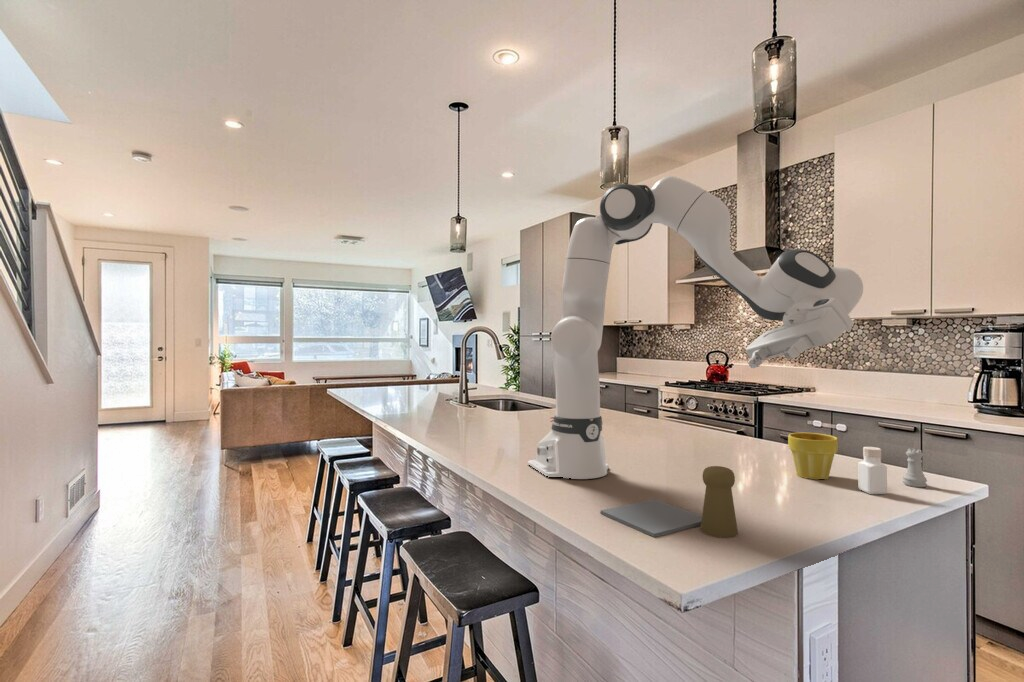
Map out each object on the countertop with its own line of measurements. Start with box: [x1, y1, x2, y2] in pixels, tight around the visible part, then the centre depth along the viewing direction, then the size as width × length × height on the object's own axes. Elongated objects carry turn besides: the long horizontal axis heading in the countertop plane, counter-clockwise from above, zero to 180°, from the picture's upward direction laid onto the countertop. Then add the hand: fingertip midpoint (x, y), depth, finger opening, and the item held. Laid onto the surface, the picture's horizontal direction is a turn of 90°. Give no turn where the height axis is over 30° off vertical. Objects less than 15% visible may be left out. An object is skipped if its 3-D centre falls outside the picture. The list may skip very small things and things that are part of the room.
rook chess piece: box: [902, 448, 928, 489], centre depth 116 cm, size 4×4×8 cm
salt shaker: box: [857, 446, 888, 495], centre depth 111 cm, size 4×4×10 cm
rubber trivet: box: [600, 498, 702, 538], centre depth 96 cm, size 14×14×1 cm
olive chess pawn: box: [700, 465, 739, 539], centre depth 89 cm, size 6×6×11 cm
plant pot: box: [787, 431, 839, 480], centre depth 124 cm, size 10×10×10 cm
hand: (769, 360), depth 101 cm, fingers open, 8 cm apart
